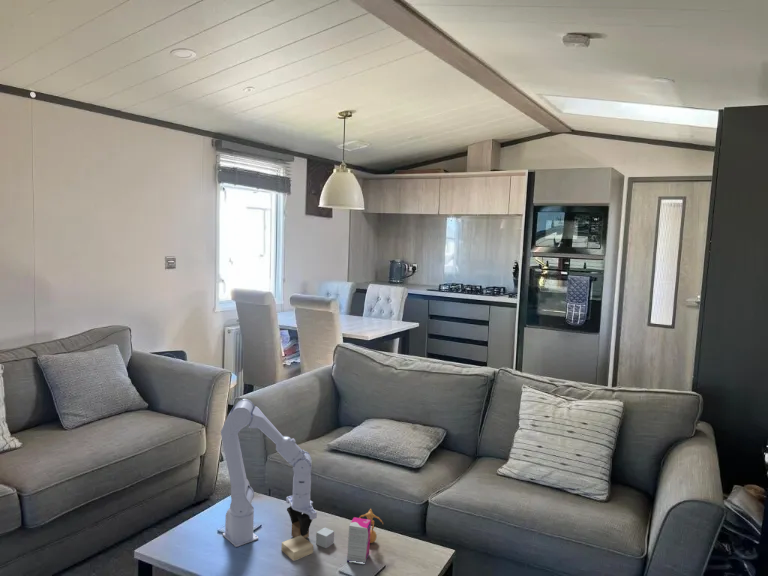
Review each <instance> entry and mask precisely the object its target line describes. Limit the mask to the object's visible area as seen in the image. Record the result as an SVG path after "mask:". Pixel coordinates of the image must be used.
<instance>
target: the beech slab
mask: <svg viewBox="0 0 768 576" xmlns="http://www.w3.org/2000/svg"><path fill="white" fill-rule="evenodd" d="M281 552H282V553H283V554H285V555H286V556H287V557H288V558H289V559H291V561H292V562H295V561H297V560H299V559H302V558H304V557H307V556H309V555H312V554H314V544H313V543H312V542H311V541H309V540H308V539H307V538H304V537H303V536H301V535H300V536H297V537H295V538H294V537H292V538H290V539H287V540H285V541H284V540H283V541H281Z"/></svg>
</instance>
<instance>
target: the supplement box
mask: <svg viewBox="0 0 768 576" xmlns="http://www.w3.org/2000/svg"><path fill="white" fill-rule="evenodd" d="M370 530H372V524H371V520H368V519H367V518H363V517H361V518H359V517H355V516H354V517H353V518H352V520H351V521H350V524H349V526H348V539H347V541H348V542H347V553H346V554H347V556H346V562H347V563H349V561H356V562H363V563H365V562H366V563H367V560H366V559H368V558H369V555H370V546H371V545H370V544H371V543H370ZM366 563H365V564H366Z"/></svg>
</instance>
